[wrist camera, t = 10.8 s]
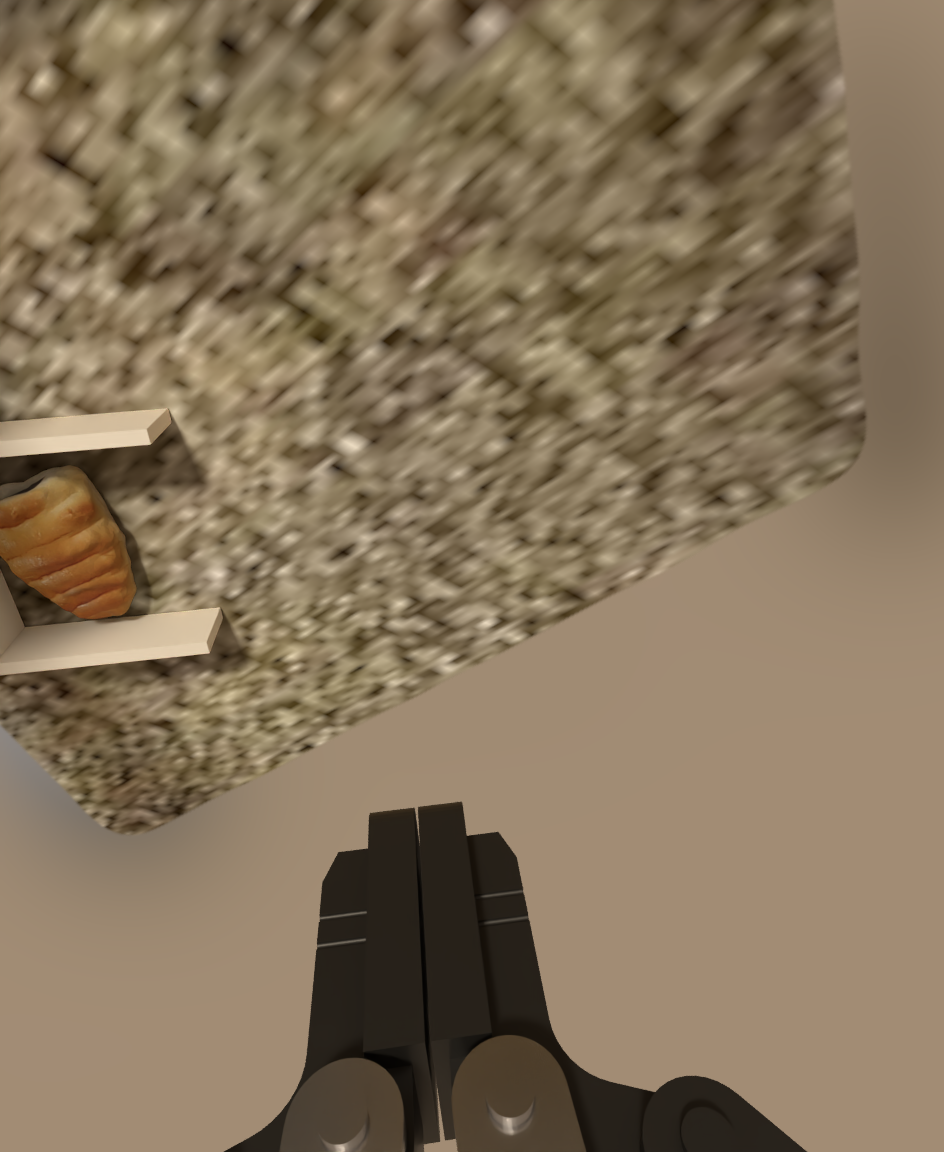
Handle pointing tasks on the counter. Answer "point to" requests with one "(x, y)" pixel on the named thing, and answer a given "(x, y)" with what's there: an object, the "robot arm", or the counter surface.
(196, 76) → the counter surface
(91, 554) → the pastry
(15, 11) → the counter surface
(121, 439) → the bin
